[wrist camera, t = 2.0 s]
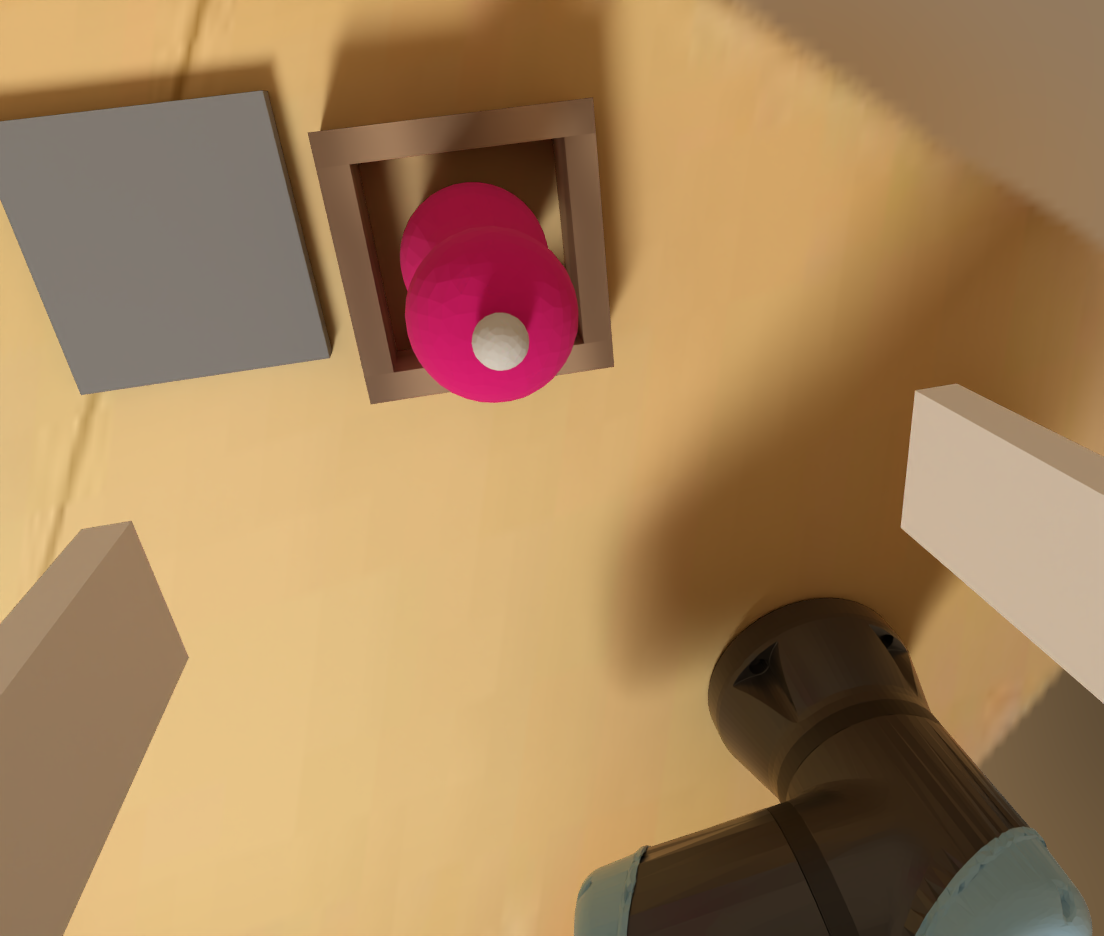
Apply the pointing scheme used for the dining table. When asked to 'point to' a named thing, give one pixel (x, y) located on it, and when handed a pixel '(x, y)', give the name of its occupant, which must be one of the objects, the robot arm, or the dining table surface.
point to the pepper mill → (485, 294)
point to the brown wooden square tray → (558, 121)
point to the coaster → (163, 239)
